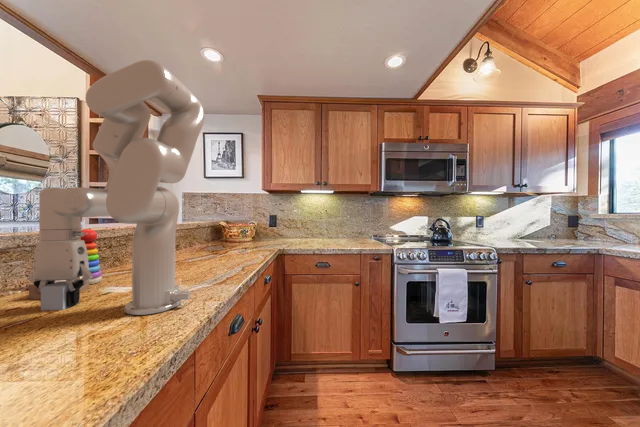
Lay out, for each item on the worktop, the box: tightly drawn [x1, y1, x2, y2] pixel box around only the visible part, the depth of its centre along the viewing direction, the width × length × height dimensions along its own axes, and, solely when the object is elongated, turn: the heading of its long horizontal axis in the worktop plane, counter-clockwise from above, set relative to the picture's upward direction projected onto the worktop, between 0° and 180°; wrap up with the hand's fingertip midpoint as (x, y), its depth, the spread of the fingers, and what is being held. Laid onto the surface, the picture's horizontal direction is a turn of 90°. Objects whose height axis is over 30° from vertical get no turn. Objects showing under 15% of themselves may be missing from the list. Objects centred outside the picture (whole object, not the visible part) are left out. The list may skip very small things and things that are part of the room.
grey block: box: [40, 281, 75, 312], centre depth 66 cm, size 5×5×6 cm
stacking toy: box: [81, 228, 103, 286], centre depth 87 cm, size 8×8×19 cm
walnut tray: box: [28, 276, 90, 300], centre depth 76 cm, size 9×9×4 cm
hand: (60, 304), depth 66 cm, fingers closed on grey block, 5 cm apart
